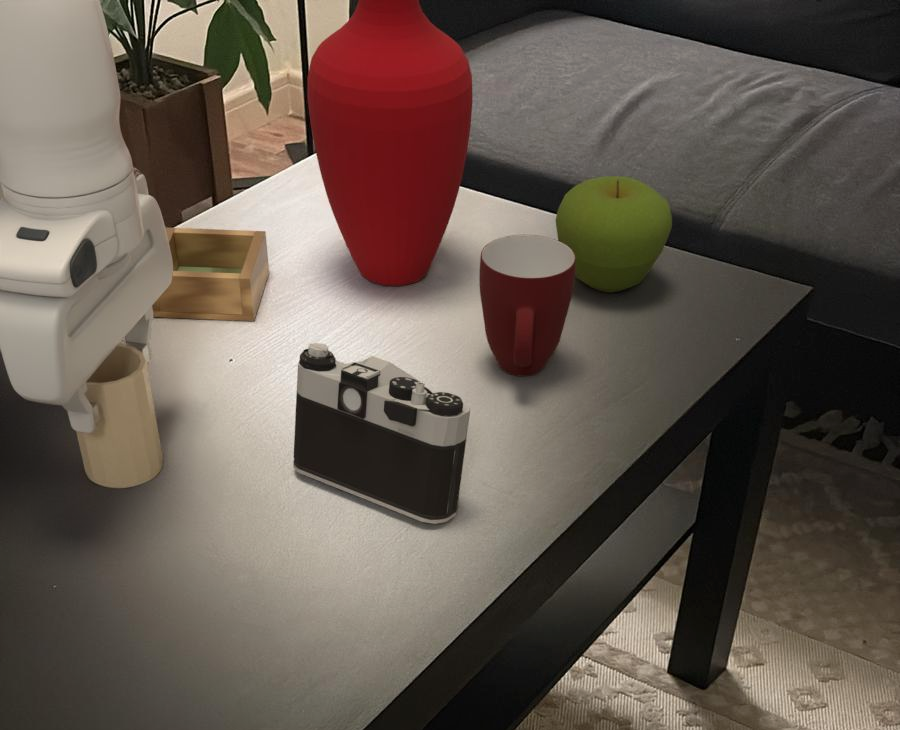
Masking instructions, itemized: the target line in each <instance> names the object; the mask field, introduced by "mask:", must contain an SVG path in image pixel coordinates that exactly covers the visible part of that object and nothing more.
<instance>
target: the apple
mask: <svg viewBox="0 0 900 730" xmlns="http://www.w3.org/2000/svg"><path fill="white" fill-rule="evenodd" d="M555 227H556V233H557V234H556V236H557V240H558V241H560V242H562V243H564V244H566V245H567V246H568V247H570V248H571V249H572V251H573V252H574V254H575V257H576V263H575V277H576V278H577V279H579V280H580V281H581V282H583V283H584V284H585V285H587V286H588V287H589V288H592V289H594V290H596V291H599V292H603V293H611V294H612V293H618V292H621V291H624V290H626V289H627V290H628V289H629V288H632V287H634V286H636V285H638V284H640V283H641V282H642V281H643V280H644V279H645V277H646V276H647V275H648V273H649V272H650V270H651V269H652V267H653V266H654V264H655V263H656V262H657V260H658V258H660V256H661V254H662V253H663V250H664V248H665V245H666V243H667V242H668V238H669V236H670V233H671V230H672V227H673V215H672V212H671V207H670V202H669V201H668V200H667V199H666V198H665V197H664V196H662V195H661V194H660V193H659V192H658V191H656V190H655V189H653V187H651V186H649V185H648V184H646V183H644V182H643V181H641V180H639V179H635V178H632V177H629V176H617V175H616V176H614V175H611V176H597V177H592V178H590V179H586V180H584V181H582V182H580V183H578V184H577V185H575V186H573V187H572V188H571V189H570V190H569V191H567V192H566V193H565V194H564V196H563V198H562V201H561V203H560V204H559V206H558V209H557V210H556V216H555Z"/></svg>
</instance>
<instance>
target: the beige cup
mask: <svg viewBox="0 0 900 730" xmlns="http://www.w3.org/2000/svg"><path fill="white" fill-rule="evenodd" d="M86 384H87V391H86V392H85V393H84V395H85V397H86V398H87V400H88V401H89V402H95V403H98V407H99V415H100V416H101V421H100V423H99V424H98V425H97V427H96V428H95V429H94V431H93V432H92V433H83V432H77V431H75V433H76V434H75V435H76V439H77V442H78V447H79V451H80V456H81V460H82V464H83V468H84V472H85V475H86V477H87V478H88V479H89V480H90V481H91V482H92V483H94V484H96V485H98V486H102V487H105V488H109V489H126V488H132V487H136V486H137V487H138V486H140V485H144V484H146V483H147V482H149V481H151V480H153V479H154V478H155V477H157V476H158V475H159V473H160V472H161V470H162V469H163V465H164V457H163V450H162V444H161V440H160V434H159V429H158V422H157V417H156V416H157V415H156V411H155V405H154V400H153V394H152V389H151V387H152V386H151V382H150V377H149V371H148V365H146V360H145V357H144V355H143V353H142V352H140V351H139V350H137V349H136V348H135V347H132V346H128V345H125V344H124V343H121V342H120V343H119V344H118V345H117V346H116V348H115V349H114V350H113V351H112V352H111V353H110V355H109V356H108V357H107V358H106V359H105V360H104V361H103V363H102V364H101V365H100V366H99V367H98V368H97V369H96V371H95V372H94V373H93V374H92V375H91V376H90V378H89V379H88V380H87V381H86Z"/></svg>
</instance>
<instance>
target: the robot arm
mask: <svg viewBox="0 0 900 730" xmlns="http://www.w3.org/2000/svg"><path fill="white" fill-rule="evenodd" d="M111 43H112V42H111V37H110V34H109V30H108V25H107V22H106V18H105V14H104V11H103V8H102V4H101V1H100V0H0V186H1V190H2V193H3V197H1V198H0V353H1V356H2V359H3V363H4V366H5V371H6V373H7V377H8V379H9V382H10V384H11V386H12V388H13V390H14V391H15V393H17V394H18V395H19V396H20V397H21V398H23V399H24V400H26V401H29V402H34V403H38V404H39V403H40V404H46V405H53V406H62V408H64V410H65V411H66V412H67V416H68V420H69V423H70V427H71V428H72V430H74V431H75V432H76V431H77V432H83V433H92V432H93V431H94V429H95V428H96V427H97V425H98V424H99V423H100V421H101V416H100V415H99V407H98V403H95V402H89V401H88V400H87V398H86V397H85V395H84V393H85V392H86V391H87V384H86V381H87V380H88V379H89V378H90V376H91V375H92V374H93V373H94V372H95V371H96V369H97V368H98V367H99V366H100V365H101V364H102V363H103V361H104V360H105V359H106V358H107V357H108V356H109V355H110V353H111V352H112V351H113V350H114V349H115V348H116V346H117V345H118V344H119V343H120V344H121V342H122V341H123V340H124V343H123V344H125V345H128V346H132V347H135V348H136V349H137V350H139V351H140V352H142V353H143V355H144V357H145V360H146V365H147V366H148V365H149V364H150V362H151V361H152V360H153V358H154V357H153V351H152V346H151V338H152V330H153V323H154V322H153V321H154V317H153V309H152V305H153V304H154V303H155V302H156V300H157V299H158V298H159V297H160V296H161V295H162V293H163V292H164V291H165V290H166V289H167V288H168V287H169V285H170V284H171V281H172V275H173V260H172V255H171V251H170V246H169V241H168V237H167V233H166V229H165V228H166V225H165V222H164V217H163V215H162V211H161V208H160V205H159V204H158V201H157V200H156V198H155V197H154V196H152V195H150V194H149V188H148V183H147V179H146V176H145V175H144V174H143V173H141V171H140V170H139V169H137V168H136V167H134V165H133V160H132V156H131V153H130V150H129V148H128V146H127V144H126V141H125V139H124V137H123V134H122V130H121V124H120V123H121V122H120V112H121V111H120V110H121V99H122V98H121V89H120V84H119V79H118V73H117V68H116V61H115V57H114V52H113V47H112V44H111Z"/></svg>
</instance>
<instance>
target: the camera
mask: <svg viewBox="0 0 900 730" xmlns="http://www.w3.org/2000/svg"><path fill="white" fill-rule="evenodd" d="M296 378H297V379H296V395H295V396H296V398H295V419H294V437H293V465H292V466H293V467H292V468H293V469H294V470H295V472H297V473H298V474H301V475H303V476H305V477H309V478H311V479H313V480H316V481H318V482H321V483H324V484H325V485H329V486H331V487H334V488H337V489H339V490H341V491H344V492H347V493H348V494H351V495H354V496H357V497H358V498H362V499H363V500H366V501H369V502H372V503H374V504H376V505H378V506H381V507H383V508H386V509H389V510H391V511H394V512H396V513H399V514H402V515H404V516H407V517H409V518H412V519H414V520H416V521H419V522H421V523H428V524H433V525H435V524H443V523H447V522H448V521H450V520H452V519H453V518H454V517H456V516H457V513H458V506H459V498H460V491H461V483H462V475H463V468H464V459H465V452H466V446H467V438H468V430H469V423H470V414H471V408H470V407H468V406H465V405H464V402H463V400H462V398H461V397H460V396H459V395H456V394H453V393H449V392H443V391H438V392H432V391H431V390H430V389H429V388H428V387H426V386H425V382H421V380H419V379H418V378H416V377H414V376H413V375H411V374H410V373H408V372H406V371H405V370H404V369H402V368H400V367H398V366H397V365H395V364H394V363H392V362H391V361H388V360H385V359H382V358H380V357H376V356H373V355H371V356H369V357H367V358H365V359H363V360H360V361H352V362H348V363H344V362H342V361H338V360H337V358H336V357H335V355H334V353H333V352H332V351H330V350H329V346H328V345H327V344H324V343H319V342H314V343H309V344H308V347H307V348H304V349H303V351H302V352H301V353H300V354H299V360H298V363H297V377H296Z"/></svg>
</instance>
